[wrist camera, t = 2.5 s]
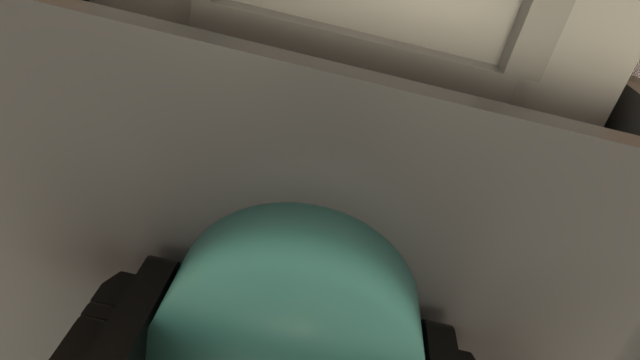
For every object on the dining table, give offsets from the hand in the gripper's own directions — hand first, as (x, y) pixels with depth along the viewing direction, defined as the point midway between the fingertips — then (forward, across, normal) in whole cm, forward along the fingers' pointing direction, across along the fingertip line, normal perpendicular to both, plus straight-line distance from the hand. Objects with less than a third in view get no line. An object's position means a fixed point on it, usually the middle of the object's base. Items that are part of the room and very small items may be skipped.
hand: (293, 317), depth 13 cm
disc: (0, 0, 0) cm, 0 cm away
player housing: (+7, 0, 0) cm, 7 cm away
